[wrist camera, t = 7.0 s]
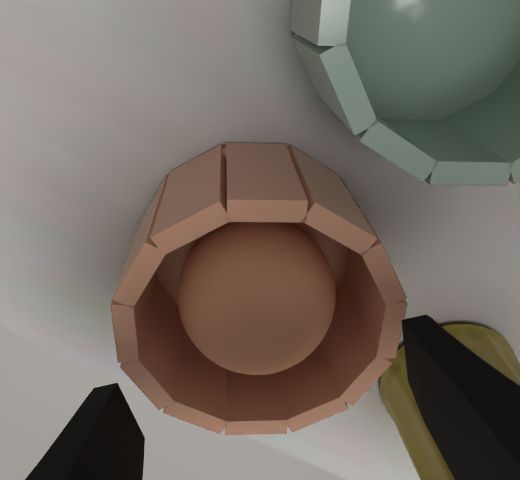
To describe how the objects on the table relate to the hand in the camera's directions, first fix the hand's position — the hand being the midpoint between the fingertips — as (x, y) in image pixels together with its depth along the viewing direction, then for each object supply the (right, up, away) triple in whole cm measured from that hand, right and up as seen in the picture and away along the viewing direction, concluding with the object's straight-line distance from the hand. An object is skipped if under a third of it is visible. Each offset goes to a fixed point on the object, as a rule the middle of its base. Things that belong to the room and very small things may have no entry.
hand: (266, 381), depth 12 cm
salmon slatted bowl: (0, +3, +6) cm, 7 cm away
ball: (0, +2, +3) cm, 4 cm away
